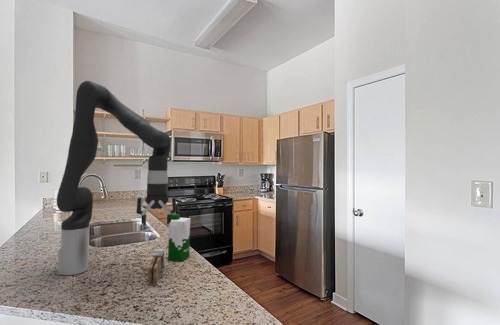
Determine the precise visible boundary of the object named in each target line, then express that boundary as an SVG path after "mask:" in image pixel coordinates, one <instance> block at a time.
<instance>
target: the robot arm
mask: <svg viewBox="0 0 500 325" xmlns="http://www.w3.org/2000/svg"><path fill="white" fill-rule="evenodd" d="M96 109H101V110H102V111H105V112H107V113H108V114H110V115H112V116H113V117H114V118H116V120H117V121H118V122H119V123H120V124H121V125H122V126H123V127H124V128H125V129H127V130H128V131H129V132H131V134H134V135H135V136H137V137H138V138H139V139H140V140H141V141H142V142H143V143H144V144H145V145H147V146H148V147H150V148H152V149H153V150H152V155H149V157H148V160H147V161H148V162H147V164H148V165H147V177H146V197H138V198H137V202H136V214H137V215H140V216H141V224H142V225H143V226H146V225H147V213H148V211H149V210H150V209H152V210H155V209H156V210H161V209H163V210H164V211H165V212H166V214H167V216H166V217H167V218H166V225H167V226H168V224H169V223H170V222H171V214H176V213H177V198H176V197H175V196H173V197H168V196H169V195H168V190H169V189H168V187H169V186H168V183H169V177H168V176H169V175H168V160H169V159H168V158H169V156H170V152H171V151H170V150H171V144H172V143H171V137H170V135H169V134H168V133H167V132H165V131H162V130H159V129H157V128H156V127H154V126H153V125H151V123H150V122H149V121H148V120H146V119H145V118H144V117H142V116H141V115H139V114H138V113H136V112H135V111H133V110H132V109H130V108H129V107H127V106H126V105H125V104H123V103H122V102H121V101H120V100H119V98H117V97H116V96H115V94H113V93H112V92H111V91H110V90H109V89H108V88H106V86H103V85H101V84H99V83H96V82H94V81H91V80H84V81H83V82H82V83H80V84H79V86H78V88H77V90H76V97H75V111H74V120H73V126H72V133H71V137H70V141H69V147H68V154H67V159H66V164H65V167H64V172H63V175H62V179H61V182H60V185H59V189H58V191H57V196H56V206H57V208H58V209H59V211H61V212H63V213H68V212H69V213H70V212H72V213H71V215H69V217H67V218H66V219H65V220H63V221H62V222H61V226H60V227H61V232H60V235H61V236H60V248H59V249H58V251H57V252H58V253H57V254H58V258H57V275H60V276H73V275H78V274H82V273H85V272H87V271H88V270H89V256H90V255H89V254H90V253H89V252H90V251H89V250H90V249H89V248H90V246H89V245H90V222H91V220H92V216H93V215H92V214H93V204H94V198H93V197H94V196H93V192H92V191H91V190H90V188H88V187H86V186H83V187H81V186H79V185H80V182H81V179H82V176H83V175H84V173H85V172H86V171H87V170H88V168H89V167H90V166H91V165H92V163H93V162H94V161H95V160H96V155H97V151H98V146H99V137H98V136H99V135H98V134H97V129H96V127H95V120H94V118H95V111H96ZM145 202H146V205H147V206H146V207H145V208H144V209H143V210H142V206H143V205H142V204H144V203H145ZM168 202H169V203H170V204H171V206H172V209H170V208H169V206H168V205H167V203H168Z"/></svg>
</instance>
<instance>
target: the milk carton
mask: <svg viewBox="0 0 500 325" xmlns="http://www.w3.org/2000/svg"><path fill="white" fill-rule="evenodd" d="M167 226H168V251H167V252H168V253H167V261H172V262H180V263H181V262H182V263H183V262H184V261H185V260H187V259H188V258H189V257H190V247H191V245H190V244H191V243H190V242H191V241H190V239H191V237H190V236H191V218H190V217H189V218H188V217H181V215H180V213H173V214H171V222H170V223H169V224H168V225H167Z"/></svg>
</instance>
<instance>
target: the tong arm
mask: <svg viewBox="0 0 500 325" xmlns="http://www.w3.org/2000/svg"><path fill="white" fill-rule="evenodd" d="M155 257H156V264H155V266H154V268H153V282H152V285H153V286H156V285H157V284H158V280H159V277H160V274H161V271H162V268H161V256H155Z"/></svg>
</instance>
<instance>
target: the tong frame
mask: <svg viewBox="0 0 500 325" xmlns="http://www.w3.org/2000/svg"><path fill="white" fill-rule="evenodd" d="M155 256H161V269H163V268H164V266H165V248H155V249H153V252H152V254H151V257H152V259H151V262H150V264H149V267H148V271H147V274H148V276H147V279H148V280H147V283H148V284H147V286H148V287H152V285H153V268H154V266H155V264H156V257H155Z"/></svg>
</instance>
